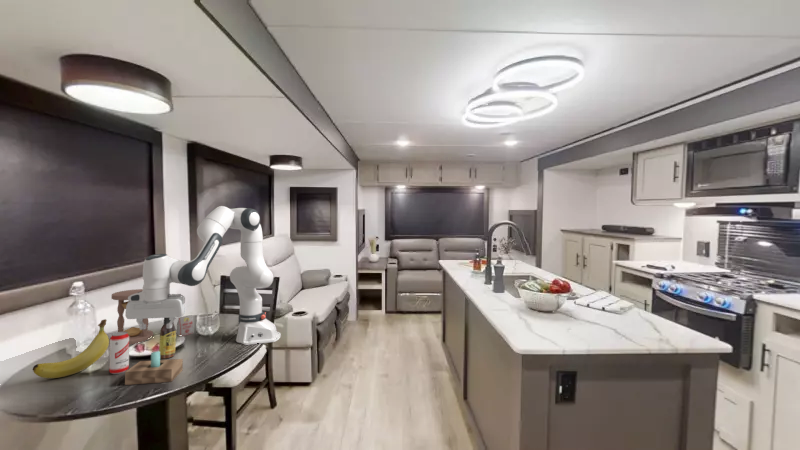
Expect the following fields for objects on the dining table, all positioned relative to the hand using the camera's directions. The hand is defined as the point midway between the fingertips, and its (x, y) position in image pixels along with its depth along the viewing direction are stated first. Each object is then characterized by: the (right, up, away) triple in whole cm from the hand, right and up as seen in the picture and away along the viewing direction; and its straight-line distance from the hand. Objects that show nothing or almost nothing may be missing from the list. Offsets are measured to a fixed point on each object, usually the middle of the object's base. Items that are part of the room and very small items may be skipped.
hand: (156, 328), depth 134 cm
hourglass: (-43, -19, +41) cm, 62 cm away
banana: (-36, -19, +2) cm, 41 cm away
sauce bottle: (-10, -20, +20) cm, 30 cm away
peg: (0, -20, 0) cm, 20 cm away
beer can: (-19, -20, +4) cm, 27 cm away
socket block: (0, -20, 0) cm, 20 cm away
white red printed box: (-21, -19, +51) cm, 58 cm away
